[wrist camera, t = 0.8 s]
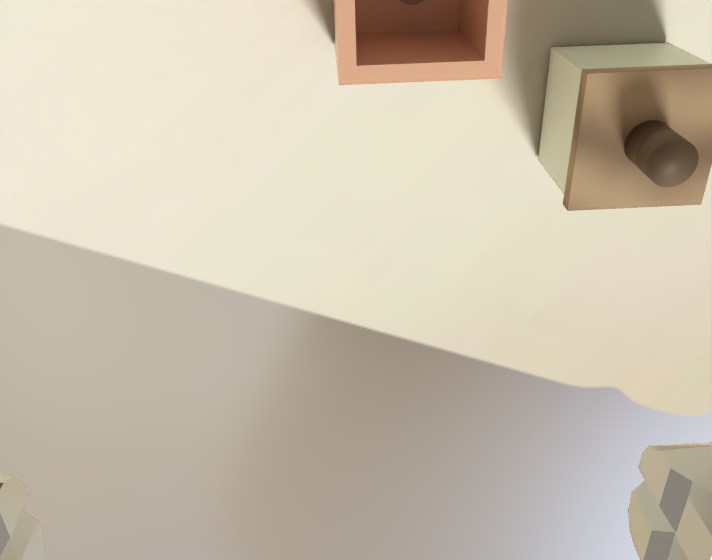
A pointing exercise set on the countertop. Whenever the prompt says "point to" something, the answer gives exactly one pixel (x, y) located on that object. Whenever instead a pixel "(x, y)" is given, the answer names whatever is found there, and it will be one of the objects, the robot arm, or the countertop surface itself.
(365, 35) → the planter
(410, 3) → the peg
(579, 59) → the tub
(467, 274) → the countertop surface
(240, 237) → the countertop surface
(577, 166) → the lid
